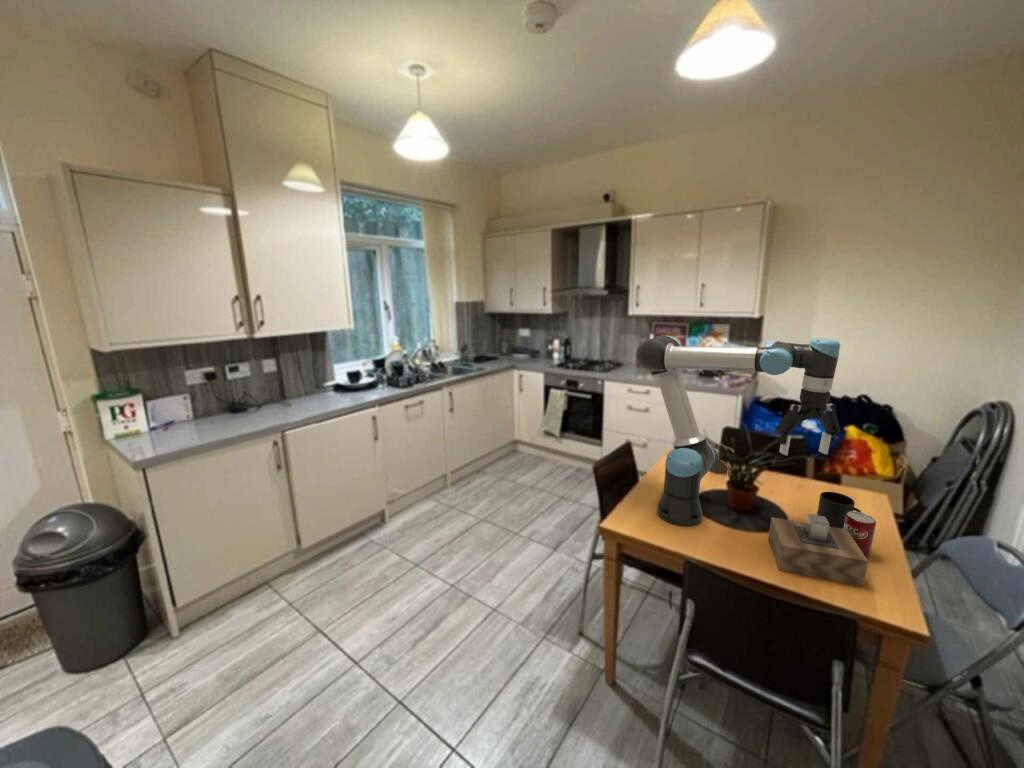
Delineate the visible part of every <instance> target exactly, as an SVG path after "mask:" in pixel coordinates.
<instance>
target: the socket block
mask: <svg viewBox="0 0 1024 768" xmlns="http://www.w3.org/2000/svg"><path fill="white" fill-rule="evenodd" d="M806 528H807V522H803V521H797V520H790V519H786V518H779V517H772V516H771V518H770V523H769V530H768V538H767V541H768V544H769V546H770V550H771V552H772V556H773V558H774V561H775V564H776V567H777V570H778V571H782V572H783V571H784V572H788V573H793V574H798V575H803V576H807V577H812V578H818V579H824V580H826V581H831V582H832V581H833V582H839V583H842V584H843V583H844V584H847V585H852V586H853V585H854V586H858V587H864V586H863V585H864V583H865V577H866V572H867V569H868V568H867V567H868V563H869V560H868V559H867V557H865V556H864V554H863V553H862V551H861V550H860V548H859V547H858V545H857V544H856V542H855V541H854V539H853V538H852V536H851V535H850V533H849V532H848V530H847V529H841V528H835V527H830V526H829V527H828V533H827V538H826V542H821V541H815V540H809V539H808V538H807V536H806Z"/></svg>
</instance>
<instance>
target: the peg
mask: <svg viewBox="0 0 1024 768" xmlns="http://www.w3.org/2000/svg"><path fill="white" fill-rule="evenodd" d="M807 516H808V517H807V522H806V523H807V528H806V536H807V538H808V539H809V540H815V541H821V542H826V538H827V533H828V527H830V526H829V522H828V521H827V519H826V517H825V516H818V515H817V514H810V513H808V515H807Z"/></svg>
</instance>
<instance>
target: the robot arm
mask: <svg viewBox="0 0 1024 768" xmlns="http://www.w3.org/2000/svg"><path fill="white" fill-rule="evenodd" d="M840 349H841V344H840V342H839V341H838V340H835V339H830V338H817V337H816V338H811V340H810V342H809V343H807V344H802V343H795V342H794V343H791V342H783V341H774V340H773V341H769V340H768V341H766V342H765V343H764V344H763V346H761V347H759V346H758V347H757V346H754V347H753V346H697V345H695V346H688V345H687V346H686V345H685V346H683V345H681V343H680V341H679V340H678V339H676V337H674V336H671V335H660V336H656V337H652V338H649V339H645V340H643V341H642V342H641V343H640V344H639V345H638V347H637V349H636V351H635V359H636V363H637V364H638V365H639V367H640V368H642V369H644V370H646V371H649V372H650V374H651V377H653V378H656V379H657V384H658V386H659V388H660V391H661V395H662V398H663V402H664V406H665V408H666V411H667V415H668V419H669V421H670V424H671V427H672V428H671V429H672V430H673V433H674V438H675V440H674V441H673V444H672V445H673V449H672V450H670V451H669V452H668V453H667V455H666V458H665V466H664V467H665V470H664V483H663V492H662V494H661V496H660V499H659V501H658V503H657V505H656V513H657V515H658V516H659V518H661V519H662V520H664V521H665V522H667V523H670V524H673V525H676V526H679V527H680V526H682V527H691V526H692V527H693V526H697V525H698V524H701V522H702V520H703V511H702V506H701V502H700V498H699V497H700V489H701V488H700V487H701V481H702V479H703V478H704V477H705V476H706V475H707V473H708V472H710V471H711V470H710V469H711V468H712V466H713V464H714V461H715V453H714V450H713V448H712V447H711V446H710V445H711V444H709V443H708V442H707V439H706V436H705V435H703V434H701V433H700V431H699V428H698V424H697V422H696V418H695V415H694V412H693V409H692V404H691V402H690V399H689V396H688V392H687V389H686V386H685V381H684V380H683V375H682V373H681V372H682V370H702V371H703V370H706V371H726V372H727V371H730V372H731V371H733V372H750V373H751V372H754V373H755V372H756V373H766V374H768V375H771V376H778V375H781V374H785V373H786V372H787V371H788V370H789V369H790V368H795V369H796V368H797V369H802V370H803V369H804V373H803V377H802V378H803V379H802V383H801V387H802V388H801V389H800V393H799V400H800V402H799V404H795V403H790V404H789V405H788V409H787V411H786V412H785V414H784V415H783V417H782V418H781V420H780V421H779V423H778V425H777V426H775V428H774V431H776V432H777V433H779V434H780V436H779V444H780V447H779V453H780V454H782V455H784V456H788V454H789V450H790V449H789V448H790V445H791V439H792V435H790V434H791V433H792V432H793V431H794V430H795V429H796V428H797V427H799V426H800V424H801V423H803V422H804V421H806V420H807V419H808V420H812V419H814V420H818V422H819V424H820V425H821V427H822V428H823V430H824V431H822V432H821V439H820V441H819V447H818V452H820V453H822V454H823V455H828V453H829V448H830V444H832V441H833V437H836V436H837V435H838V434H839V433H840V432H841V427H840V423H839V420H838V415H837V412H836V411H837V406H836V404H833V403H831V402H830V399H831V392H830V391H831V390H832V388H833V384H834V379H835V374H836V371H837V370H836V368H837V365H838V360H839V356H840ZM825 413H826V414H825Z"/></svg>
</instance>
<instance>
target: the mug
mask: <svg viewBox="0 0 1024 768" xmlns="http://www.w3.org/2000/svg"><path fill="white" fill-rule="evenodd" d="M850 511H857V512H862V511H861V510H860V509H859V508H856V507H855V500H854V499H853V498H851V497H850V496H848V495H846V494H843V493H839V492H835V491H823V492H821V493H820V494H819V500H818V506H817V512H816V515H818V516H825V517H826V519H827V521H828V522H829V527H835V528H841V529H843V526H844V520H845V515H846V513H848V512H850Z"/></svg>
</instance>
